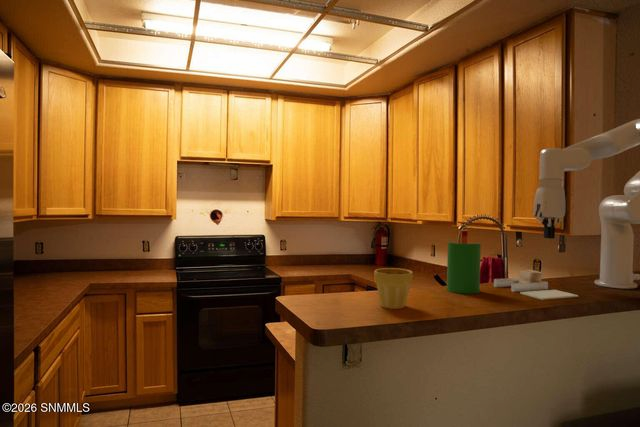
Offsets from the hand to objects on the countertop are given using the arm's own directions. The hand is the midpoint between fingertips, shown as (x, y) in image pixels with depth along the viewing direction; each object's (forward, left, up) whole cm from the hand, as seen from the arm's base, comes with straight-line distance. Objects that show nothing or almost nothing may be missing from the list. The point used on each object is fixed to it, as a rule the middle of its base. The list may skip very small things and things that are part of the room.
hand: (549, 238), depth 159 cm
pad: (+12, +12, -17) cm, 24 cm away
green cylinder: (+34, -1, -17) cm, 38 cm away
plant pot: (+66, +11, -17) cm, 69 cm away
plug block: (+8, 0, -17) cm, 18 cm away
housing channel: (+12, 0, -17) cm, 20 cm away
